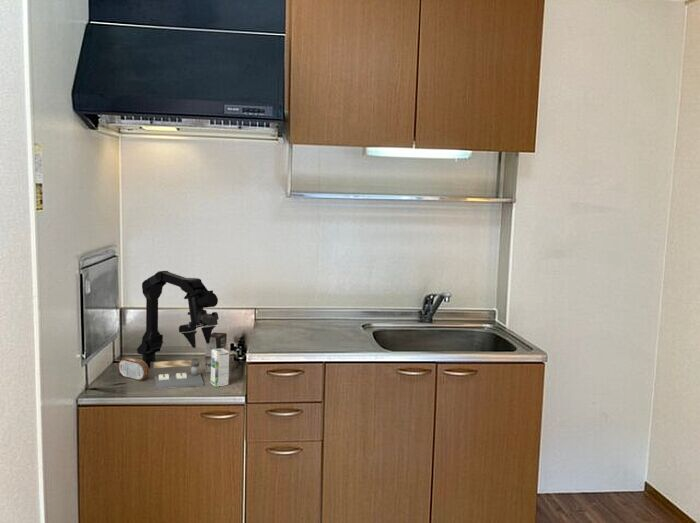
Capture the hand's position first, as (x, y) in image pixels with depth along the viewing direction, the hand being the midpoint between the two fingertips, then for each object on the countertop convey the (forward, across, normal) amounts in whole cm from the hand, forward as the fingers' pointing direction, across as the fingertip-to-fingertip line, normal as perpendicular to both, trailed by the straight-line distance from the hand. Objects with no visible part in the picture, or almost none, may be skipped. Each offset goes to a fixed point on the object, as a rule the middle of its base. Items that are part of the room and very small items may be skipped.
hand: (201, 345), depth 233 cm
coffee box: (+14, +16, +6) cm, 22 cm away
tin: (+10, -11, +28) cm, 32 cm away
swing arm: (+7, -3, +12) cm, 15 cm away
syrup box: (+17, 0, -6) cm, 18 cm away
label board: (+14, -6, +10) cm, 18 cm away
